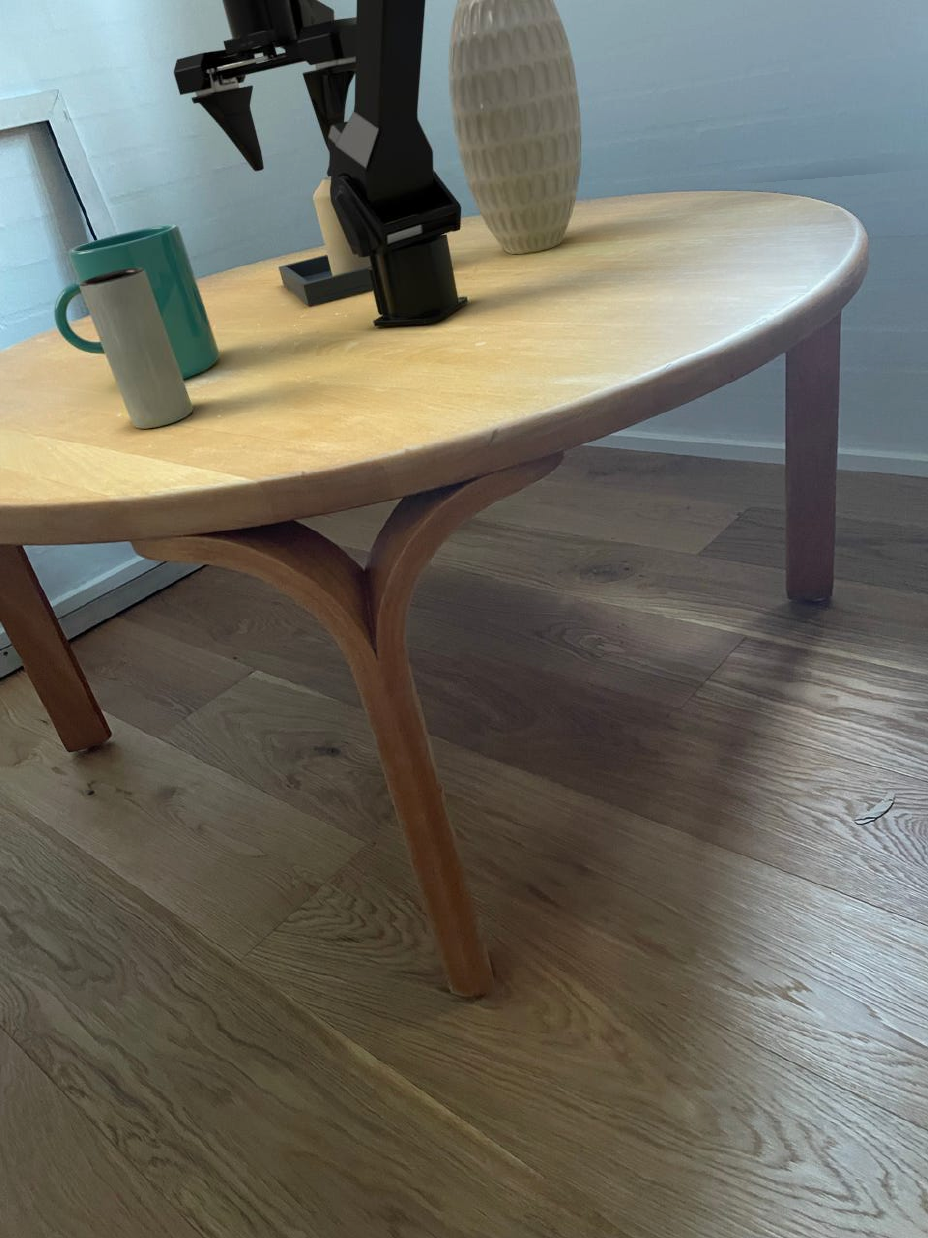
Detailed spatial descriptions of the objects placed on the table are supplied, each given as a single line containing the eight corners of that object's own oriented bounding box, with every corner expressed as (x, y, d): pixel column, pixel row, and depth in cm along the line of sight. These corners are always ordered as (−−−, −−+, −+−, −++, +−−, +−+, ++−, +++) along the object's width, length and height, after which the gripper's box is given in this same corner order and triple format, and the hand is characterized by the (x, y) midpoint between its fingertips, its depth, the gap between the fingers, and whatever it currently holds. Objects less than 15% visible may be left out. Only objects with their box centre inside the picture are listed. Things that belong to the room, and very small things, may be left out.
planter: (140, 414, 70) (88, 276, 65) (198, 402, 70) (150, 263, 65) (126, 434, 66) (69, 288, 61) (187, 421, 66) (135, 274, 61)
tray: (441, 271, 97) (437, 250, 96) (308, 306, 94) (303, 284, 93) (400, 255, 110) (397, 236, 109) (283, 286, 107) (278, 266, 106)
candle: (354, 280, 98) (330, 179, 93) (323, 280, 102) (298, 183, 97) (391, 266, 101) (370, 168, 96) (360, 267, 105) (338, 172, 100)
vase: (598, 246, 93) (564, -99, 78) (475, 269, 94) (419, -65, 80) (586, 226, 104) (554, -80, 89) (476, 247, 105) (426, -51, 91)
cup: (88, 382, 83) (35, 253, 77) (217, 348, 85) (176, 220, 79) (82, 408, 75) (23, 266, 69) (225, 370, 77) (179, 229, 71)
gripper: (387, -66, 79) (424, 136, 87) (225, -17, 87) (271, 161, 96) (314, -65, 71) (361, 156, 79) (143, -12, 80) (201, 182, 88)
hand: (297, 164), depth 85 cm, fingers open, 9 cm apart
